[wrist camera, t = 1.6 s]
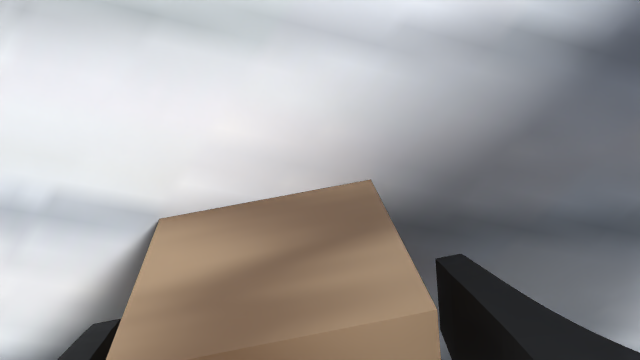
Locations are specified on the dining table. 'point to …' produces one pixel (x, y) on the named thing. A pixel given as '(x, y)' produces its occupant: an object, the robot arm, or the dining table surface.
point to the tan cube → (280, 285)
